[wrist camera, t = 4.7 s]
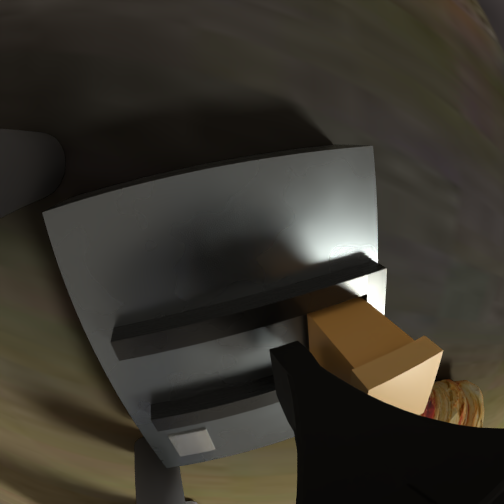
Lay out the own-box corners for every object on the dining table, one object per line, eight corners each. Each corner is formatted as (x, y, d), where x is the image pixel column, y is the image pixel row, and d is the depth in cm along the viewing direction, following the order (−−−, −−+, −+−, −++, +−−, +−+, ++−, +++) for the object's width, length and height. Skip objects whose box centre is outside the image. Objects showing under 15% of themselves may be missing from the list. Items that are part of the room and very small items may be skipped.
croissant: (297, 388, 20) (295, 498, 13) (429, 320, 14) (463, 458, 8) (417, 428, 27) (424, 488, 21) (493, 391, 22) (508, 455, 16)
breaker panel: (163, 430, 13) (168, 481, 10) (68, 198, 9) (30, 218, 6) (342, 378, 15) (373, 417, 12) (334, 144, 11) (388, 146, 8)
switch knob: (305, 368, 11) (358, 447, 7) (300, 308, 10) (368, 390, 6) (361, 346, 11) (423, 412, 7) (364, 288, 10) (443, 350, 6)
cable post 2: (144, 460, 14) (152, 547, 9) (127, 439, 13) (130, 534, 8) (182, 455, 14) (199, 543, 9) (168, 432, 14) (182, 530, 8)
